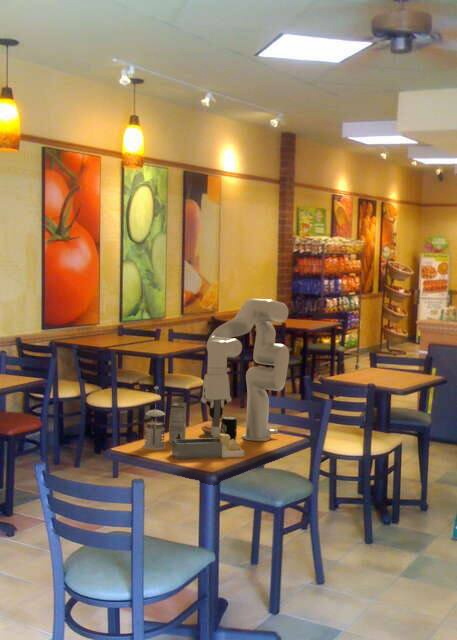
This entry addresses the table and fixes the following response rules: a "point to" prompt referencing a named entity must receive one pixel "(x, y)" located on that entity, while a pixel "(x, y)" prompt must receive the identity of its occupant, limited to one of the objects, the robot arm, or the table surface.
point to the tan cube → (224, 439)
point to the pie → (209, 430)
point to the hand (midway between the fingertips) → (215, 416)
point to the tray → (231, 453)
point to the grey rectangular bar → (216, 419)
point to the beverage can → (229, 426)
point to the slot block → (196, 448)
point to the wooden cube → (233, 446)
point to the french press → (154, 431)
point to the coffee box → (177, 421)
